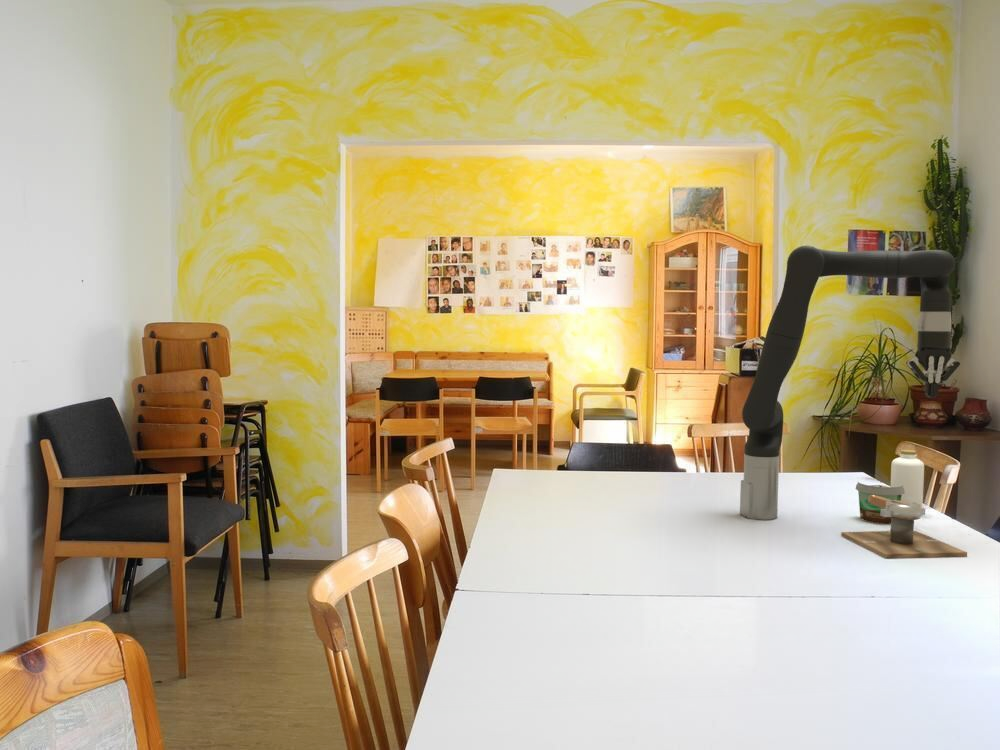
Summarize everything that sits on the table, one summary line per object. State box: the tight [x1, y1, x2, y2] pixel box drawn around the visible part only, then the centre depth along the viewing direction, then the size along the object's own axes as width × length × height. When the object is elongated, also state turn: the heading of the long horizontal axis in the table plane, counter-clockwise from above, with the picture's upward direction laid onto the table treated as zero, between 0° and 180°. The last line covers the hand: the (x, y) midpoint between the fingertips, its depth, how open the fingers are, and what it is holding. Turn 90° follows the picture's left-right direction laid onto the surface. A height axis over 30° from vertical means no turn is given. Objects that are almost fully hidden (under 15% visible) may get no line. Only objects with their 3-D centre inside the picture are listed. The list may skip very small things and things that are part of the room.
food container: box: [855, 481, 905, 524], centre depth 228 cm, size 12×6×10 cm, turn 62°
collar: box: [868, 495, 926, 521], centre depth 207 cm, size 16×11×3 cm
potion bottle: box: [890, 449, 925, 508], centre depth 237 cm, size 8×8×18 cm
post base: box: [840, 518, 968, 559], centre depth 203 cm, size 20×20×7 cm
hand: (931, 397), depth 215 cm, fingers closed
